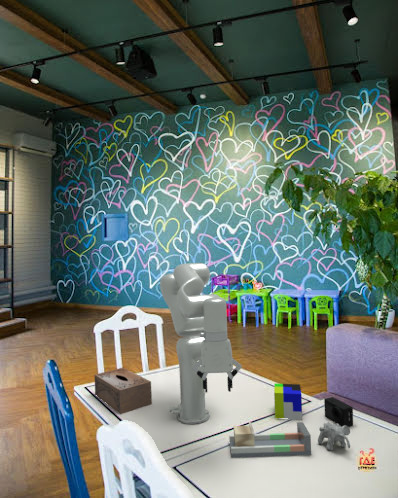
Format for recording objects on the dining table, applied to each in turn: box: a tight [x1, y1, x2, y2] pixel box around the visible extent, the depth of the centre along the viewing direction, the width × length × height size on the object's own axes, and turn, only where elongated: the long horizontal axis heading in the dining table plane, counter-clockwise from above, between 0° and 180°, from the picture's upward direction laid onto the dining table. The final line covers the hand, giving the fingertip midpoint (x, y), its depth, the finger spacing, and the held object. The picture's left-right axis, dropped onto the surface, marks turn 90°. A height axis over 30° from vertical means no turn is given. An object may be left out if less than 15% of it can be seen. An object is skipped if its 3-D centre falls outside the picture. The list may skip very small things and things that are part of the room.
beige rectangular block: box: [233, 421, 256, 447], centre depth 126 cm, size 6×9×6 cm
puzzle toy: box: [273, 383, 303, 421], centre depth 151 cm, size 10×10×10 cm
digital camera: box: [323, 396, 354, 428], centre depth 144 cm, size 10×5×7 cm, turn 22°
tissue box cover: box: [94, 367, 153, 415], centre depth 171 cm, size 26×14×10 cm, turn 38°
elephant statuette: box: [317, 422, 351, 451], centre depth 125 cm, size 9×12×8 cm
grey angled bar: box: [296, 421, 312, 452], centre depth 126 cm, size 2×9×5 cm, turn 0°
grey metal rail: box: [228, 432, 312, 459], centre depth 126 cm, size 25×9×3 cm, turn 90°
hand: (217, 390), depth 126 cm, fingers open, 6 cm apart
